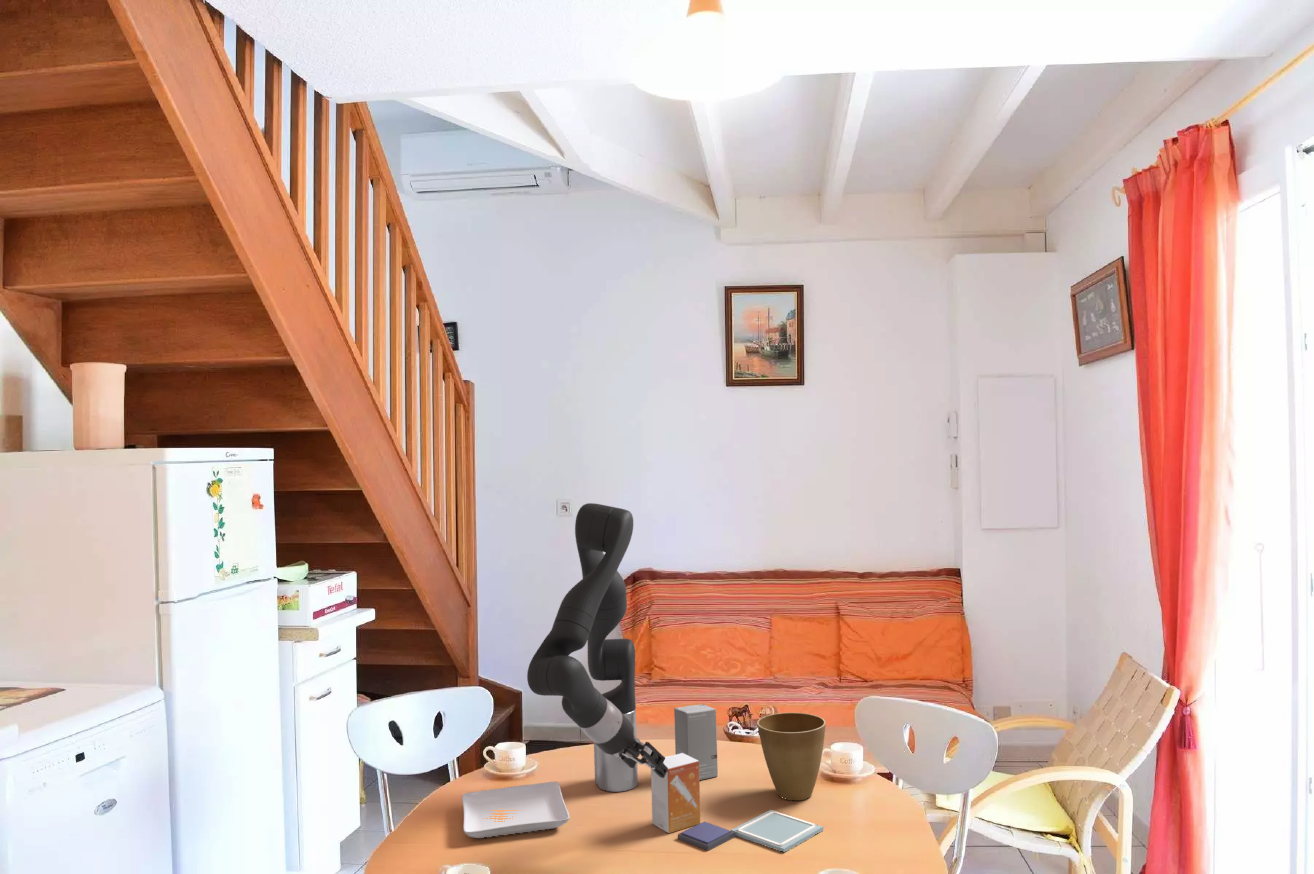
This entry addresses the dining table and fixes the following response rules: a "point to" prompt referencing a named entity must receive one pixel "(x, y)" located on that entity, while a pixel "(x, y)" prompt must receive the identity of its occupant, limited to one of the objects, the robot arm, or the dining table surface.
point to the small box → (676, 794)
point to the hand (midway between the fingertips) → (649, 768)
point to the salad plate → (535, 799)
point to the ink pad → (706, 835)
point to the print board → (777, 830)
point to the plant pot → (792, 751)
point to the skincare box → (697, 737)
